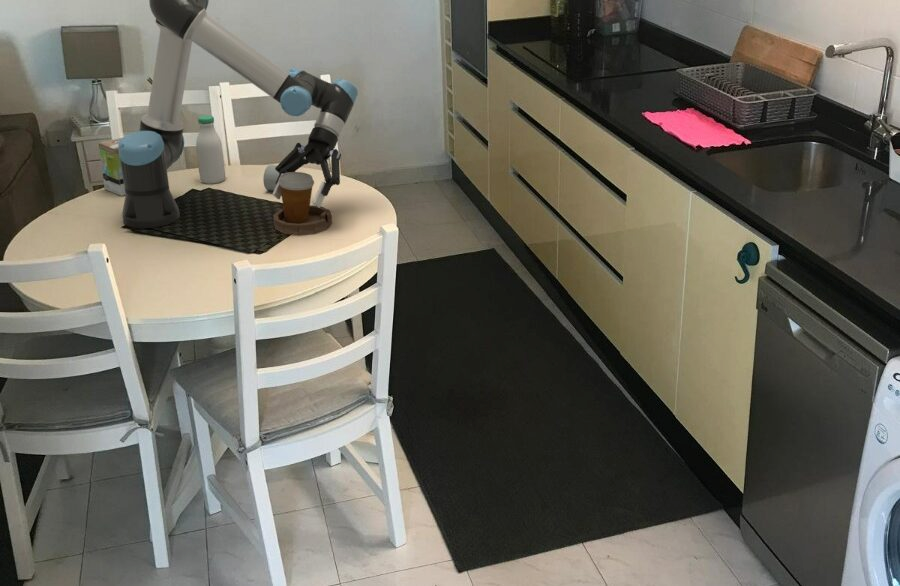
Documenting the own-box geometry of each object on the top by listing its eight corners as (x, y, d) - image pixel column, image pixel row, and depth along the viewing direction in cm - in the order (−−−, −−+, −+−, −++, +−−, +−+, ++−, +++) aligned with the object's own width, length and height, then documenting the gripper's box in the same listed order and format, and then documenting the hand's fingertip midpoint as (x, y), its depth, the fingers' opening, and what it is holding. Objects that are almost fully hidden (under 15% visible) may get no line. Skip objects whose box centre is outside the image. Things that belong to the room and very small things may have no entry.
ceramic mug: (289, 195, 284) (287, 170, 281) (263, 193, 286) (261, 168, 283) (303, 185, 294) (301, 160, 291) (278, 183, 296) (276, 158, 292)
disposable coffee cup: (272, 221, 260) (272, 179, 255) (287, 210, 269) (287, 169, 264) (305, 227, 258) (305, 185, 253) (319, 215, 267) (319, 174, 261)
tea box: (122, 197, 284) (114, 148, 278) (104, 189, 290) (96, 142, 284) (166, 184, 294) (160, 137, 288) (148, 177, 300) (141, 131, 294)
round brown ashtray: (277, 237, 254) (276, 227, 253) (271, 217, 267) (271, 208, 266) (335, 231, 258) (335, 221, 256) (327, 212, 271) (326, 203, 270)
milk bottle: (230, 180, 298) (224, 116, 289) (209, 186, 293) (202, 121, 284) (216, 174, 303) (209, 112, 294) (195, 180, 298) (187, 117, 289)
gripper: (369, 146, 260) (340, 215, 255) (296, 134, 272) (266, 199, 266) (357, 131, 254) (327, 202, 249) (283, 119, 265) (252, 187, 260)
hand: (295, 201), depth 258 cm, fingers open, 13 cm apart
